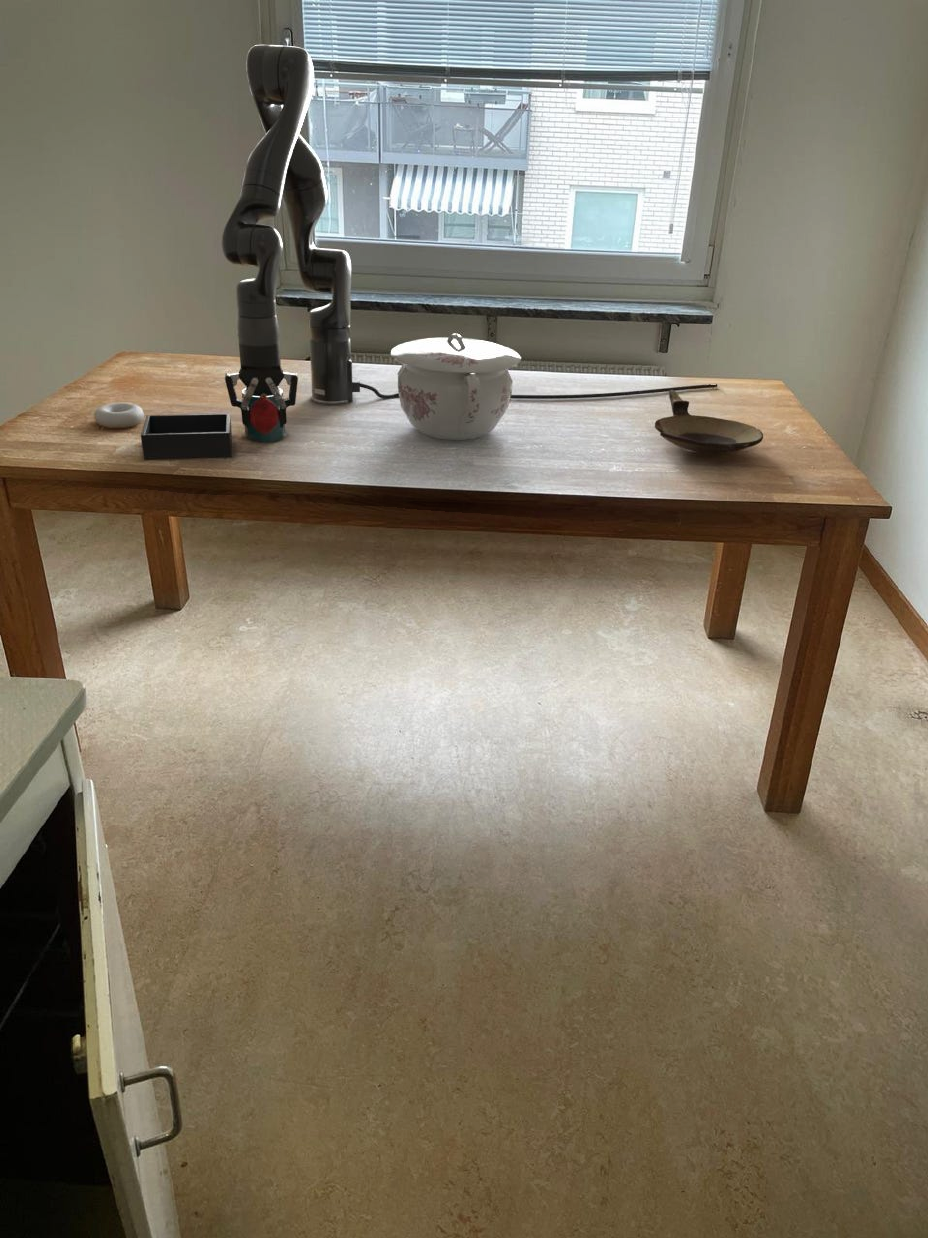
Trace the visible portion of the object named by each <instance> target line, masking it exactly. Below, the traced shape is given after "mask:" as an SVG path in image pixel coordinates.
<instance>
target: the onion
mask: <svg viewBox="0 0 928 1238" xmlns="http://www.w3.org/2000/svg"><path fill="white" fill-rule="evenodd" d="M249 419H250V422H251V424H252V426H253V427H254V428H255V429H257V430H258V431H260V432H261V433H263V434H268V433H269V432H270V431H271V430H272V429H274V428H275V427H276V425H277V424H278V422H279V411H278V409H277V407H276V406H275V404H274V403H273V402H272V401H270V400H269V399H267V395H265V394H264V393H263V394H261V396H260V398H259V399H258V400H257V401H255V402H254V403H253V405H252V406H251V408H250V411H249Z"/></svg>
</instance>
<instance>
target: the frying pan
mask: <svg viewBox="0 0 928 1238" xmlns="http://www.w3.org/2000/svg"><path fill="white" fill-rule="evenodd" d="M668 397H669V402H670V406H671V411H672V415H671V416H666V417H662V418H659V419H657V420H655V422H654V429H655V430H656V431H658V432H659V435H660V437H662V438H663V439H664V440H666V441H668V442H669V443H671V444H673V445H675V446H678V447H680V448H683V449H685V450H688V451H690V452H695V453H700V454H725V453H732V452H738V451H742V450H745V449H749V448H751V447H754V446H757V445H758V444H760V443H762V441H763V439H764V434H763V433H764V432H763V431H762V430H761V429H759V428H756V427H755V426H753V425H750V424H748V423H744V422H740V421H737V420H731V419H725V418H719V417H714V416H713V417H712V416H707V415H703V416H702V415H695V414H690V413H689V406H690V401H689V400H684V399H682V397H680V395H679V394H678V393H677V391H674V390H670V391H668Z"/></svg>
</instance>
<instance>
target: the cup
mask: <svg viewBox="0 0 928 1238" xmlns="http://www.w3.org/2000/svg"><path fill="white" fill-rule="evenodd" d="M246 388H247V387H245V388H243V389H242V390H241V399H242V398H243V396H244V393H245V390H246ZM278 388H279V390H280V392H281V394H282V396H283V397H284V390H283V388H281V387H278ZM262 394H263V393H262ZM265 395H267V399H269V400H270V401H272V402H273V403H274V404H275V406H276V407H277V409H278V411H279V404H278V402H277V400H276V399H275V397H274V396H273V394H272V393H271V394H265ZM260 396H261V394H254V393H253V396H252V398H251V400H250V402H249V405H248V408H249V411H250V408H251V406H252V405H253V403H254V402H255V401H257V400H258V399H259V398H260ZM249 420H250V419H249ZM244 435H245V436H244V437H245V439H246V440H248V441H251V442H254V443H260V444H261V443H262V444H266V443H274V442H275V443H276V442H279V441H282V440H284V439H285V438H286V424H283V427H280V423H279V422H278V424H277V425H276V427H275V428H274V429H272V430H271V431H270V432H269V433H268V434H263V433H261V432H260V431H258V430H257V429H255V428H254V427H253V426H252V424H251V422H250V428H246V425H244Z"/></svg>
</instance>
